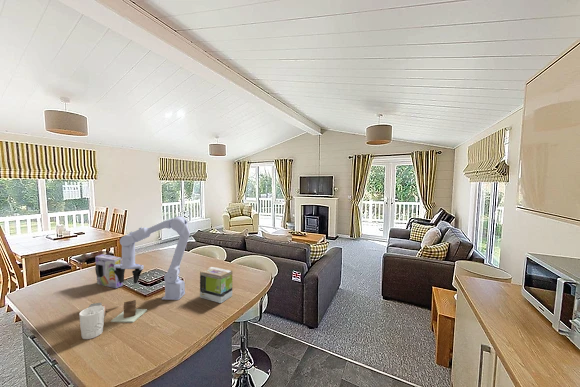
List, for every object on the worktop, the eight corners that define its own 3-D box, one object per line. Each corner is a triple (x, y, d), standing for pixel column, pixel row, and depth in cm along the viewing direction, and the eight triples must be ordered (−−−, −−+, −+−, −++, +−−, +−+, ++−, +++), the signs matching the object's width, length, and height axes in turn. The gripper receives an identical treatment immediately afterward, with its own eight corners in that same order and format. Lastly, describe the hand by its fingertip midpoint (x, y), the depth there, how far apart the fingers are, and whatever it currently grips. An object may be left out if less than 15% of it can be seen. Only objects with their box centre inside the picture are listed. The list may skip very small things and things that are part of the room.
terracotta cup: (107, 314, 110) (107, 305, 110) (100, 319, 106) (100, 310, 106) (99, 314, 111) (99, 305, 110) (91, 319, 107) (91, 309, 106)
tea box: (232, 295, 131) (233, 270, 131) (220, 304, 122) (220, 276, 121) (212, 290, 138) (212, 265, 137) (199, 297, 128) (199, 271, 128)
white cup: (89, 328, 100) (89, 305, 100) (109, 327, 101) (108, 305, 100) (74, 340, 92) (73, 316, 92) (95, 340, 93) (95, 315, 92)
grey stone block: (101, 310, 114) (101, 302, 114) (98, 314, 110) (97, 306, 110) (91, 311, 113) (91, 303, 113) (87, 316, 109) (87, 308, 109)
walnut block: (135, 310, 113) (135, 299, 113) (135, 315, 109) (135, 304, 109) (124, 313, 111) (124, 302, 110) (123, 318, 107) (123, 306, 107)
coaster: (147, 310, 115) (147, 309, 115) (133, 322, 105) (133, 321, 105) (126, 309, 115) (126, 308, 115) (111, 321, 105) (111, 320, 105)
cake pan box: (94, 283, 143) (94, 255, 142) (103, 280, 148) (103, 253, 147) (114, 289, 136) (114, 259, 135) (123, 286, 141) (123, 257, 140)
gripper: (147, 255, 126) (147, 279, 127) (120, 254, 127) (120, 279, 127) (138, 259, 119) (138, 285, 120) (110, 258, 120) (110, 284, 120)
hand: (128, 282), depth 123 cm, fingers open, 7 cm apart
